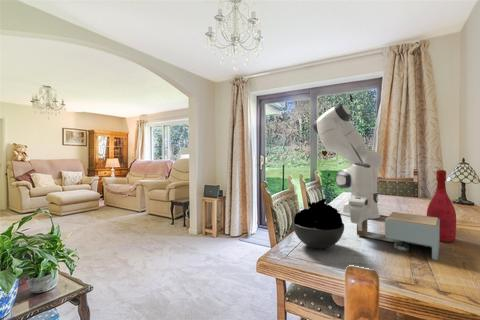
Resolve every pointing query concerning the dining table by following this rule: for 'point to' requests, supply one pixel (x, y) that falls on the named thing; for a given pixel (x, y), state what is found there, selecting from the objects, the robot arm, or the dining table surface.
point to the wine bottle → (443, 210)
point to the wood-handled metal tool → (374, 234)
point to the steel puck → (401, 247)
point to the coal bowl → (318, 225)
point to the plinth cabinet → (414, 230)
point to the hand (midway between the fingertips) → (362, 229)
